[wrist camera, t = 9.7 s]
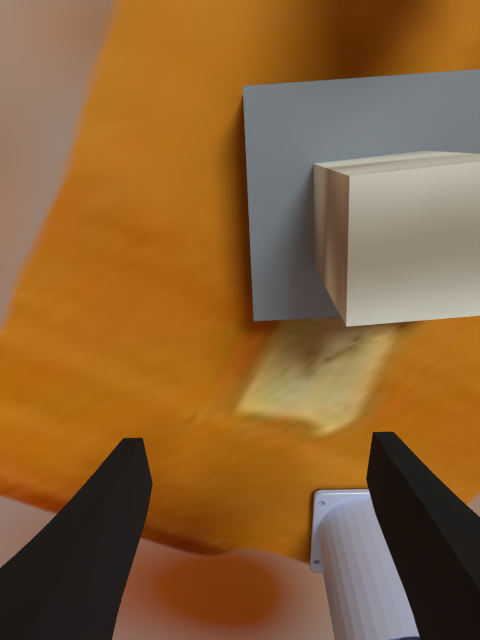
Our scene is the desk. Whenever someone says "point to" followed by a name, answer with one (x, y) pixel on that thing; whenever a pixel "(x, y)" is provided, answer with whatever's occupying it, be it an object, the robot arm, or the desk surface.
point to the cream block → (399, 236)
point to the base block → (334, 145)
